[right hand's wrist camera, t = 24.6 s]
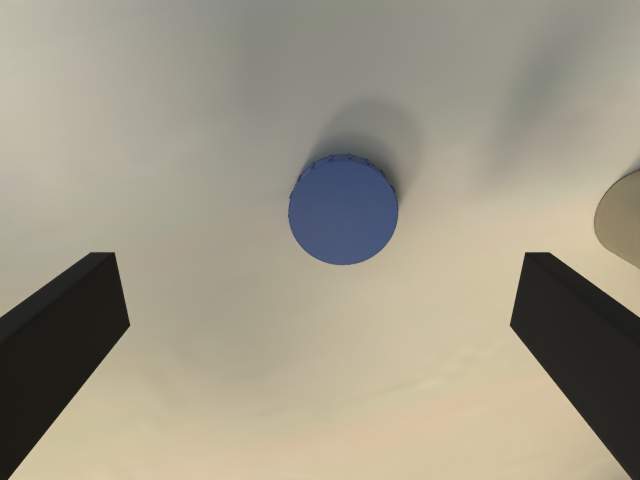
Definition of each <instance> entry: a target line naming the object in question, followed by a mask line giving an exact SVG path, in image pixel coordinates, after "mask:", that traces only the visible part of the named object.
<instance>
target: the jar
mask: <svg viewBox="0 0 640 480" xmlns="http://www.w3.org/2000/svg"><path fill="white" fill-rule="evenodd" d="M594 224H595V232H596V235H597V238H598V240H599V241H600V243H601V244H602V245H603V246H604V247H605V248H606V249H607V250H609V251H610V252H612V253H614V254H615V255H617V256H619V257H620V258H622V259H624V260H625V261H627V262H629V263H630V264H632V265H634V266H635V267H637V268H639V269H640V170H639V171H636V172H633V173H631V174H629V175H627V176H626V177H624V178H623V179H621V180H620V181H618V182H617V183H616V184H615V185H614V186H613V187H611V188H610V189H609V191H608V192H607V193H606V194H605V196H604V197H603V199H602V200H601V202H600V204H599V206H598V208H597V211H596V215H595V222H594Z"/></svg>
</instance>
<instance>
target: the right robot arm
mask: <svg viewBox="0 0 640 480" xmlns="http://www.w3.org/2000/svg"><path fill="white" fill-rule="evenodd" d="M129 326H130V322H129V318H128V313H127V308H126V304H125V299H124V294H123V289H122V285H121V280H120V275H119V271H118V266H117V261H116V257H115V252H91V253H89V254H88V255H86V256H85V257H84V258H82V259H81V260H79V261H78V262H77V263H75V264H74V265H73V266H71V267H70V268H68V269H67V270H66V271H64V272H63V273H61V274H60V275H59V276H57V277H56V278H55V279H53V280H52V281H50V282H49V283H48V284H46V285H45V286H43V287H42V288H41V289H39V290H38V291H37V292H35V293H34V294H32V295H31V296H30V297H28V298H27V299H25V300H24V301H23V302H21V303H20V304H19V305H17V306H16V307H14V308H13V309H12V310H10V311H9V312H7V313H6V314H5V315H3V316H2V317H1V318H0V480H8V479H9V478H10V476H11V475H12V474H13V472H14V471H15V470H16V469H17V467H18V466H19V465H20V464H21V462H22V461H23V460H24V459H25V457H26V456H27V455H28V454H29V452H30V451H31V450H32V449H33V447H34V446H35V445H36V444H37V442H38V441H39V440H40V439H41V437H42V436H43V435H44V433H45V432H46V431H47V430H48V428H49V427H50V426H51V425H52V423H53V422H54V421H55V420H56V418H57V417H58V416H59V415H60V413H61V412H62V411H63V410H64V408H65V407H66V406H67V405H68V403H69V402H70V401H71V399H72V398H73V397H74V396H75V394H76V393H77V392H78V391H79V389H80V388H81V387H82V386H83V384H84V383H85V382H86V381H87V379H88V378H89V377H90V376H91V374H92V373H93V372H94V371H95V369H96V368H97V367H98V366H99V364H100V363H101V362H102V360H103V359H104V358H105V357H106V355H107V354H108V353H109V352H110V350H111V349H112V348H113V347H114V345H115V344H116V343H117V342H118V340H119V339H120V338H121V337H122V335H123V334H124V333H125V332H126V330H127V329H128V328H129ZM510 326H511V328H512V329H513V330H514V332H515V333H516V334H517V335H518V337H519V338H520V339H521V340H522V342H523V343H524V344H525V345H526V347H527V348H528V349H529V350H530V352H531V353H532V354H533V355H534V357H535V358H536V359H537V360H538V362H539V363H540V364H541V366H542V367H543V368H544V369H545V371H546V372H547V373H548V374H549V376H550V377H551V378H552V379H553V381H554V382H555V383H556V384H557V386H558V387H559V388H560V389H561V391H562V392H563V393H564V394H565V396H566V397H567V398H568V399H569V401H570V402H571V403H572V405H573V406H574V407H575V408H576V410H577V411H578V412H579V413H580V415H581V416H582V417H583V418H584V420H585V421H586V422H587V423H588V425H589V426H590V427H591V428H592V430H593V431H594V432H595V433H596V435H597V436H598V437H599V439H600V440H601V441H602V442H603V444H604V445H605V446H606V447H607V449H608V450H609V451H610V452H611V454H612V455H613V456H614V457H615V459H616V460H617V461H618V462H619V464H620V465H621V466H622V467H623V469H624V470H625V471H626V472H627V474H628V475H629V476H630V478H631V479H632V480H640V318H639V317H638V316H637V315H635V314H634V313H633V312H631V311H630V310H628V309H627V308H626V307H624V306H623V305H621V304H620V303H619V302H617V301H616V300H615V299H613V298H612V297H610V296H609V295H608V294H606V293H605V292H603V291H602V290H601V289H599V288H598V287H597V286H595V285H594V284H592V283H591V282H590V281H588V280H587V279H585V278H584V277H583V276H581V275H580V274H579V273H577V272H576V271H574V270H573V269H572V268H570V267H569V266H567V265H566V264H565V263H563V262H562V261H561V260H559V259H558V258H556V257H555V256H554V255H552V254H551V253H549V252H525V257H524V261H523V266H522V271H521V275H520V280H519V285H518V289H517V294H516V299H515V303H514V308H513V313H512V318H511V322H510Z"/></svg>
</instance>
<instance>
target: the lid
mask: <svg viewBox="0 0 640 480" xmlns="http://www.w3.org/2000/svg"><path fill="white" fill-rule="evenodd" d="M394 193H395V190H394V189H393V187H392V185H390V184H389V182H388V180H387V179H386V177H385V174H384V172H383V171H382V170H379V169H378V168H377V167H376V166H375V165H373V164H372V163H370V162H369V160H368V159H366V160H365V159H363V158H360V157H357V156H352V155H350V154H348V155H334V156H331V155H329V157H326V158H323V159H321V160H319V161H317V162H315V163H314V162H313V163H312V165H311V166H310V167H309V168H308V169H307V170H306V171H305V172H304V173H303V174H302V175H300V176H299V178H298V180H297V184H296V186H295V188H294V191H292V193H291V195H290V198H289V199H291V200H290V203H289V214H288V217H289V223H290V227H291V230H292V233H293V235H294V237H295V239H296V240H297V242H298V243H299V245H300V246H301V247H302V248H303V249H304V250H305V251H306V252H307V253H309V254H310V255H311V256H313V257H315V258H316V259H318V260H321V261H323V262H326V263H330V264H335V265H350V264H356V263H359V262H362V261H365V260H367V259H369V258H371V257H373V256H374V255H376V254H377V253H378V252H379V251H381V250H382V249H383V248H384V247H385V246H386V244H387V243H388V242H389V240H390V239H391V237H392V235H393V233H394V230H395V228H396V224H397V219H398V205H397V200H396V197H395V194H394Z"/></svg>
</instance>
